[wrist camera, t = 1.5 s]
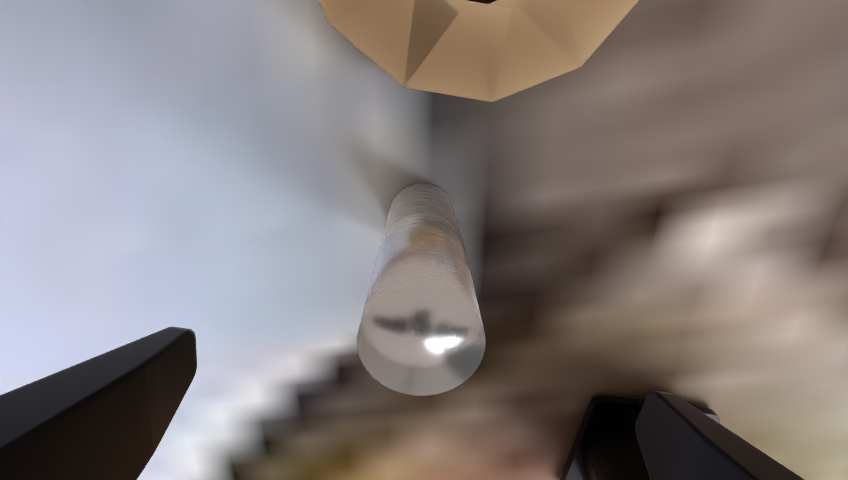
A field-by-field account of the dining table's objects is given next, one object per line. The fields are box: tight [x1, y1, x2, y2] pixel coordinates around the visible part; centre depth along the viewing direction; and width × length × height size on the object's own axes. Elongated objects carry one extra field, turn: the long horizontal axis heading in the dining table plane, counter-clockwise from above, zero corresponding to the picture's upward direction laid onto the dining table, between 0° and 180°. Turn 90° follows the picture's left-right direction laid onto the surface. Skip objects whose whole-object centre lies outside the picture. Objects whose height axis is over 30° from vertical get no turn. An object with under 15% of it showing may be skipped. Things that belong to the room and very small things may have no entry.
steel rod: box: [357, 183, 486, 396], centre depth 13 cm, size 3×3×9 cm
